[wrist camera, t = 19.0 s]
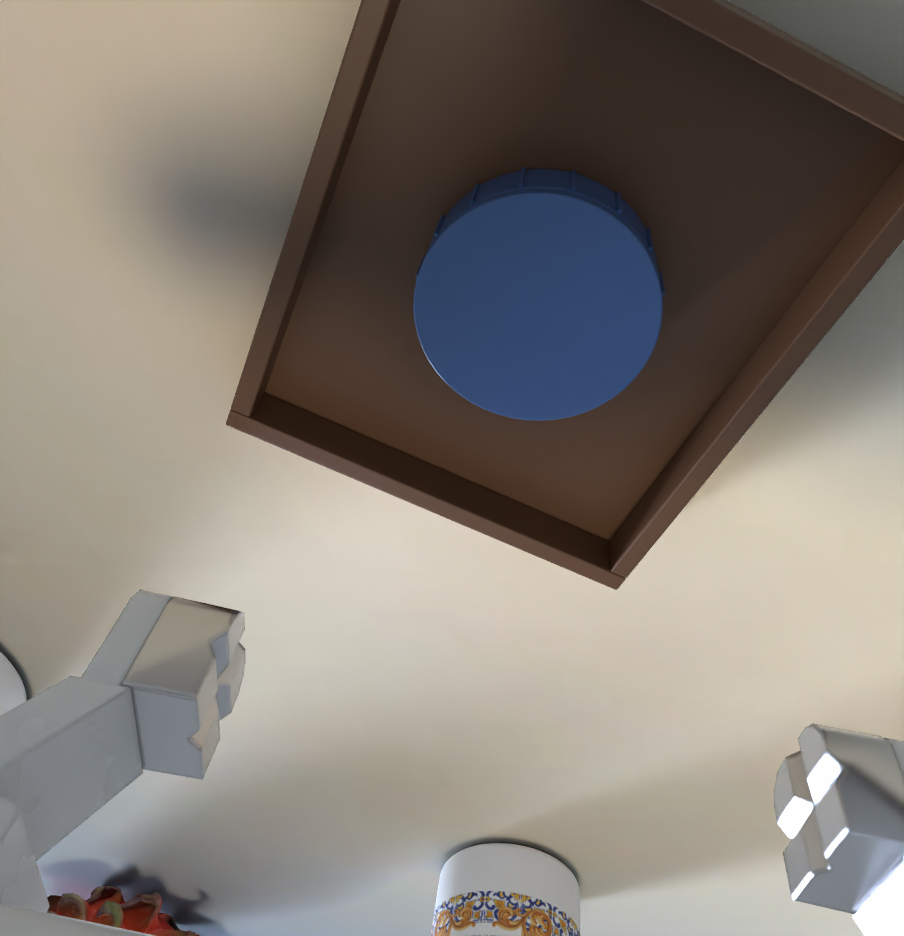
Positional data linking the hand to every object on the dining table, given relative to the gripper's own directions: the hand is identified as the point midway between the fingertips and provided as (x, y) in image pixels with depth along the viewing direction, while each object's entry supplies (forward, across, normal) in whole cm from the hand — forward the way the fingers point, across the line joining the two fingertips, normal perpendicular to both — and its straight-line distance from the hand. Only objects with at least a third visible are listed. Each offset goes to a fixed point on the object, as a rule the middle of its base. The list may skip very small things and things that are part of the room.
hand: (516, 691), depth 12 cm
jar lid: (+12, 0, 0) cm, 12 cm away
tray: (+14, 0, 0) cm, 14 cm away
